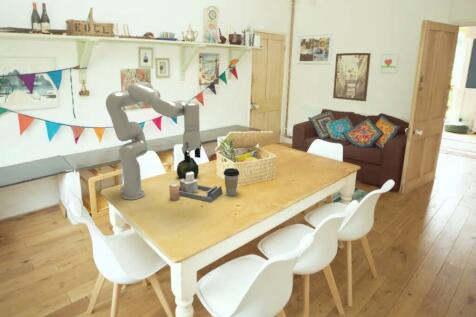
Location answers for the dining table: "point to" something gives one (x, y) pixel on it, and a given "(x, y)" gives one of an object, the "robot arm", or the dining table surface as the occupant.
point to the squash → (187, 168)
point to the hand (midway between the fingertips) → (192, 159)
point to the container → (188, 183)
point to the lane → (212, 197)
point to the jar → (174, 192)
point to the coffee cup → (231, 181)
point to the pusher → (211, 191)
